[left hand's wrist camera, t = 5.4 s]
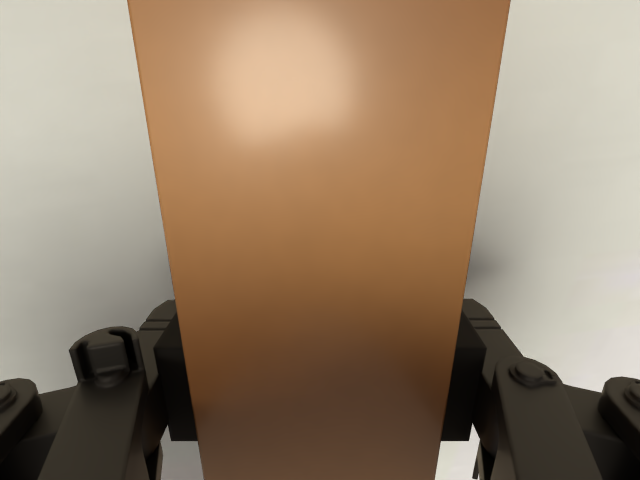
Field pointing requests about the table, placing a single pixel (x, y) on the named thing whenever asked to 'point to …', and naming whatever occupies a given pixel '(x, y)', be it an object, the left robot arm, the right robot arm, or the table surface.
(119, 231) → the table surface
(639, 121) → the table surface
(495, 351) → the left robot arm
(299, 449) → the bar
